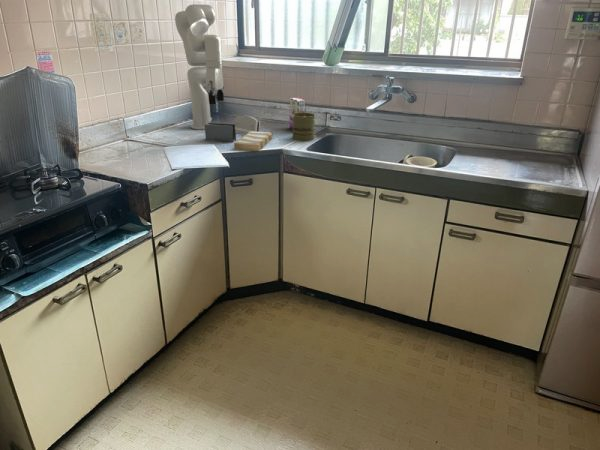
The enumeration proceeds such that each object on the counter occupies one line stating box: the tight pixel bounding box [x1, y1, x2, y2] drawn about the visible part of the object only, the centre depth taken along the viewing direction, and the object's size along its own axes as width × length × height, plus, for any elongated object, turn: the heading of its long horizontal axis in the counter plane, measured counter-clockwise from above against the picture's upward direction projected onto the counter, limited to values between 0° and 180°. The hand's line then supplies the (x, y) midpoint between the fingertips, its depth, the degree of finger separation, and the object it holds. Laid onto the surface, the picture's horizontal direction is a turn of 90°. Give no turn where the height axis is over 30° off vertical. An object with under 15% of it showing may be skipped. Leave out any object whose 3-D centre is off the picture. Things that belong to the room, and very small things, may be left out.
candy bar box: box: [289, 97, 307, 130], centre depth 242 cm, size 11×5×16 cm, turn 25°
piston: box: [291, 112, 316, 142], centre depth 226 cm, size 11×12×11 cm
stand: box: [233, 131, 274, 152], centre depth 216 cm, size 24×12×3 cm, turn 168°
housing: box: [204, 122, 237, 143], centre depth 220 cm, size 5×14×8 cm, turn 78°
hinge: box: [233, 114, 261, 136], centre depth 236 cm, size 17×5×10 cm, turn 54°
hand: (216, 102), depth 213 cm, fingers open, 9 cm apart
